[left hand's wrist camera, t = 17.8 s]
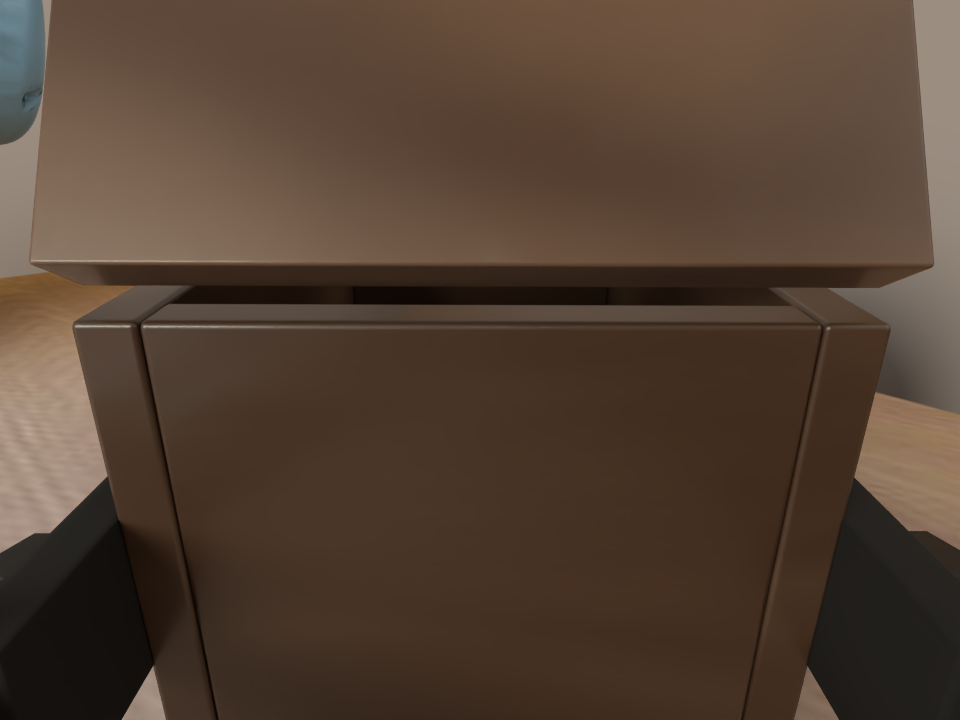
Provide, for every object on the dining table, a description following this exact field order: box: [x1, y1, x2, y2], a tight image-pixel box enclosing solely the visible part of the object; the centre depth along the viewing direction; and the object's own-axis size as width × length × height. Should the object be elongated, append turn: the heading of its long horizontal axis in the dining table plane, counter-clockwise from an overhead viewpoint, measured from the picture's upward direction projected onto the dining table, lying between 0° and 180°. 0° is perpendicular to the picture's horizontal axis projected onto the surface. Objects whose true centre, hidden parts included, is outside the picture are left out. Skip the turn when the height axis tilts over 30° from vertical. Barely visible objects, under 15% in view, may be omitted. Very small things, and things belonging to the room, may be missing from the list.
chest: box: [72, 286, 890, 720], centre depth 17 cm, size 15×10×10 cm
